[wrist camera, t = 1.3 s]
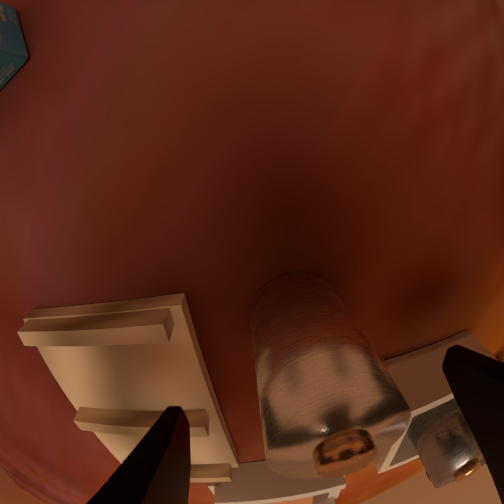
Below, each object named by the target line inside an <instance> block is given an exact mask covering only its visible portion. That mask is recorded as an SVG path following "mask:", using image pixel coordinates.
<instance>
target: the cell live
mask: <svg viewBox="0 0 504 504" xmlns="http://www.w3.org/2000/svg"><path fill="white" fill-rule="evenodd" d="M249 316H250V326H251V336H252V345H253V354H254V363H255V372H256V381H257V390H258V398H259V407H260V416H261V424H262V433H263V441H264V450H265V458H266V463H267V465H268V467H269V468H270V469H271V470H273V471H274V472H276V473H278V474H280V475H283V476H286V477H291V478H304V479H306V478H320V477H326V478H332V477H339V476H344V475H347V474H350V473H353V472H355V471H357V470H360V469H361V468H363V467H365V466H367V465H368V464H369V463H371V462H372V461H373V460H374V459H375V458H376V457H377V456H379V455H380V454H382V453H383V452H385V451H386V450H387V449H388V448H390V447H391V446H392V445H393V444H394V443H395V442H396V441H397V440H398V439H399V438H400V437H401V436H402V435H403V433H404V432H405V430H406V429H407V427H408V425H409V422H410V420H411V409H410V407H409V405H408V403H407V402H406V400H405V398H404V397H403V395H402V394H401V392H400V390H399V389H398V387H397V385H396V384H395V382H394V381H393V379H392V377H391V376H390V374H389V373H388V371H387V369H386V368H385V366H384V365H383V363H382V361H381V360H380V358H379V357H378V355H377V354H376V352H375V351H374V349H373V347H372V346H371V344H370V343H369V341H368V340H367V338H366V337H365V335H364V334H363V332H362V331H361V329H360V328H359V326H358V325H357V323H356V322H355V320H354V319H353V317H352V316H351V314H350V313H349V311H348V310H347V308H346V307H345V305H344V304H343V302H342V301H341V299H340V298H339V296H338V295H337V294H336V292H335V291H334V289H333V288H332V286H331V285H330V284H329V283H328V282H327V281H326V280H325V279H323V278H321V277H320V276H317V275H315V274H312V273H307V272H291V273H287V274H283V275H280V276H278V277H276V278H274V279H272V280H271V281H269V282H268V283H266V284H265V285H264V286H263V287H262V288H261V289H260V290H259V291H258V293H257V294H256V295H255V297H254V299H253V301H252V304H251V307H250V315H249Z"/></svg>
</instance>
